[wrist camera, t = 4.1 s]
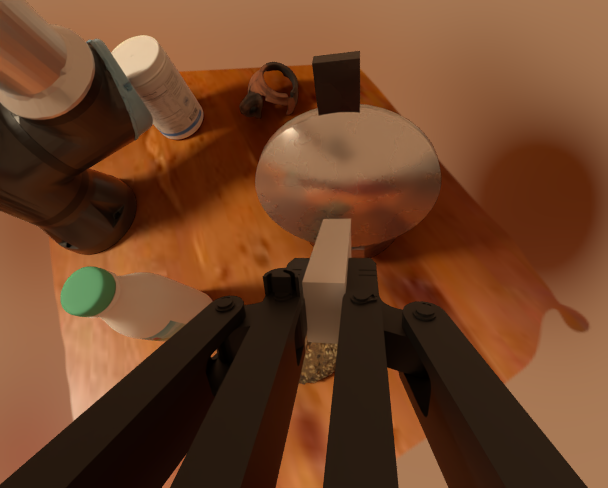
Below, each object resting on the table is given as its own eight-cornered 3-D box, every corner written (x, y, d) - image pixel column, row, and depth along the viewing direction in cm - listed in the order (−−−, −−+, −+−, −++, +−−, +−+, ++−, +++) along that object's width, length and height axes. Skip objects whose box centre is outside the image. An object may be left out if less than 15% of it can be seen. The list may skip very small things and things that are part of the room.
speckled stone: (375, 345, 40) (377, 343, 36) (297, 396, 40) (289, 402, 35) (324, 268, 45) (320, 258, 40) (254, 313, 45) (242, 308, 40)
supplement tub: (158, 116, 62) (101, 50, 49) (199, 96, 62) (153, 24, 49) (167, 149, 59) (108, 88, 45) (210, 129, 58) (164, 61, 45)
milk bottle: (179, 287, 48) (66, 244, 29) (223, 296, 46) (132, 255, 28) (162, 337, 45) (27, 324, 27) (208, 348, 44) (96, 342, 25)
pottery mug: (264, 82, 61) (275, 48, 54) (298, 115, 62) (313, 86, 55) (223, 112, 56) (228, 78, 49) (261, 147, 57) (272, 120, 49)
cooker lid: (215, 67, 21) (210, 75, 20) (478, 36, 18) (482, 44, 17) (279, 239, 38) (277, 247, 37) (422, 238, 34) (423, 247, 34)
